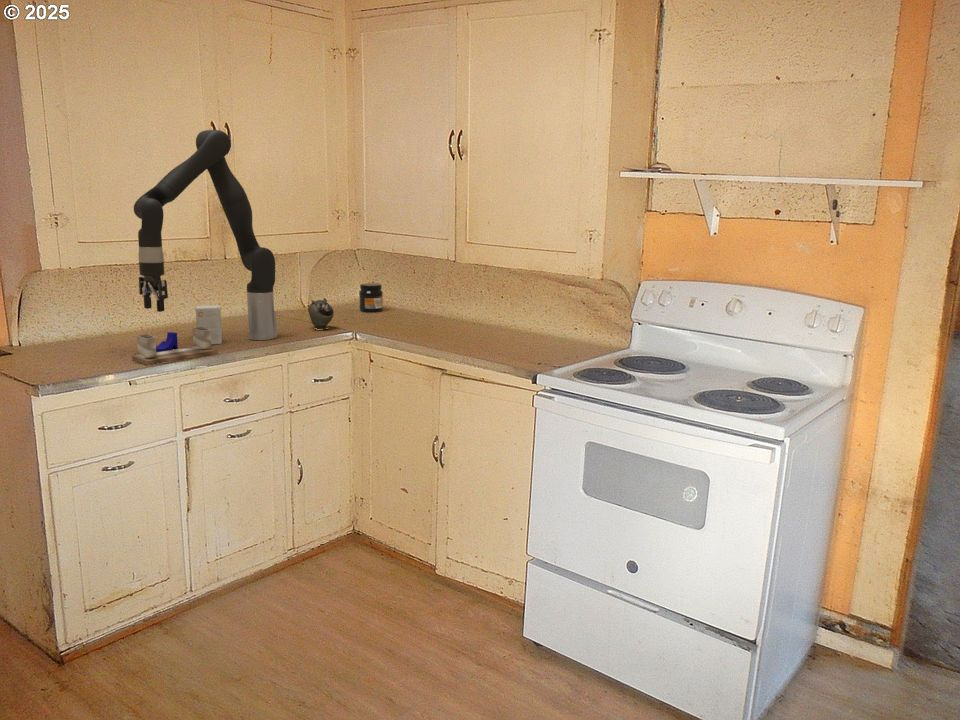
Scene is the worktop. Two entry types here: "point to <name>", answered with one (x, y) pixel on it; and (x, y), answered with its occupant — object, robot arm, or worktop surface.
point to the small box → (210, 321)
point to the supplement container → (371, 297)
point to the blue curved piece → (168, 343)
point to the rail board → (151, 357)
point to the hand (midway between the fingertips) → (154, 309)
